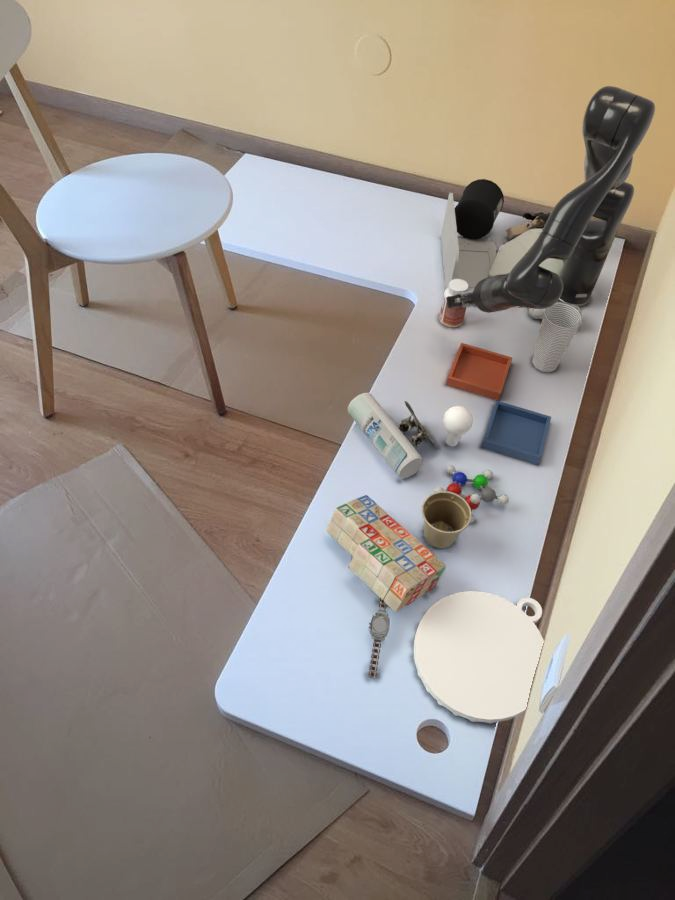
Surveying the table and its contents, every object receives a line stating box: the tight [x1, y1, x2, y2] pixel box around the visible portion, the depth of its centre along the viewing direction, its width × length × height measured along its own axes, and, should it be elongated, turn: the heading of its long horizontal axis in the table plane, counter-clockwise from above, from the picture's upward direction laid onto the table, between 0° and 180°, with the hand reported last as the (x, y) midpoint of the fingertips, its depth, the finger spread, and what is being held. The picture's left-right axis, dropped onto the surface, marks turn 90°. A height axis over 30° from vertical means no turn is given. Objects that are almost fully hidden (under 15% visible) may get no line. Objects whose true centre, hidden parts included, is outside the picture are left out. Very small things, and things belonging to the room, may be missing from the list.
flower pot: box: [421, 491, 473, 549], centre depth 143 cm, size 9×9×9 cm
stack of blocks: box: [325, 494, 447, 613], centre depth 137 cm, size 21×6×12 cm
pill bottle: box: [438, 279, 468, 328], centre depth 181 cm, size 6×6×11 cm
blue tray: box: [480, 400, 552, 466], centre depth 162 cm, size 13×13×2 cm
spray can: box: [347, 392, 424, 480], centre depth 157 cm, size 6×6×20 cm
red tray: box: [445, 342, 513, 401], centre depth 173 cm, size 13×13×2 cm
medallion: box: [413, 590, 545, 725], centre depth 131 cm, size 24×27×2 cm
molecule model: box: [433, 464, 510, 524], centre depth 151 cm, size 15×7×14 cm
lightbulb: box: [442, 405, 474, 447], centre depth 157 cm, size 6×6×11 cm
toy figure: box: [505, 211, 551, 239], centre depth 208 cm, size 7×6×15 cm
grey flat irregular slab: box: [489, 228, 565, 277], centre depth 197 cm, size 18×5×30 cm
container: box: [454, 178, 505, 239], centre depth 206 cm, size 12×12×18 cm
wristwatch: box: [368, 597, 391, 678], centre depth 132 cm, size 4×14×5 cm, turn 170°
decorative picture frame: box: [398, 400, 439, 450], centre depth 158 cm, size 12×6×11 cm
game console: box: [440, 192, 497, 304], centre depth 192 cm, size 28×15×15 cm, turn 178°
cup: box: [532, 301, 583, 373], centre depth 172 cm, size 8×8×16 cm
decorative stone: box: [528, 301, 584, 329], centre depth 185 cm, size 13×7×5 cm, turn 79°
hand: (467, 300), depth 174 cm, fingers open, 8 cm apart
